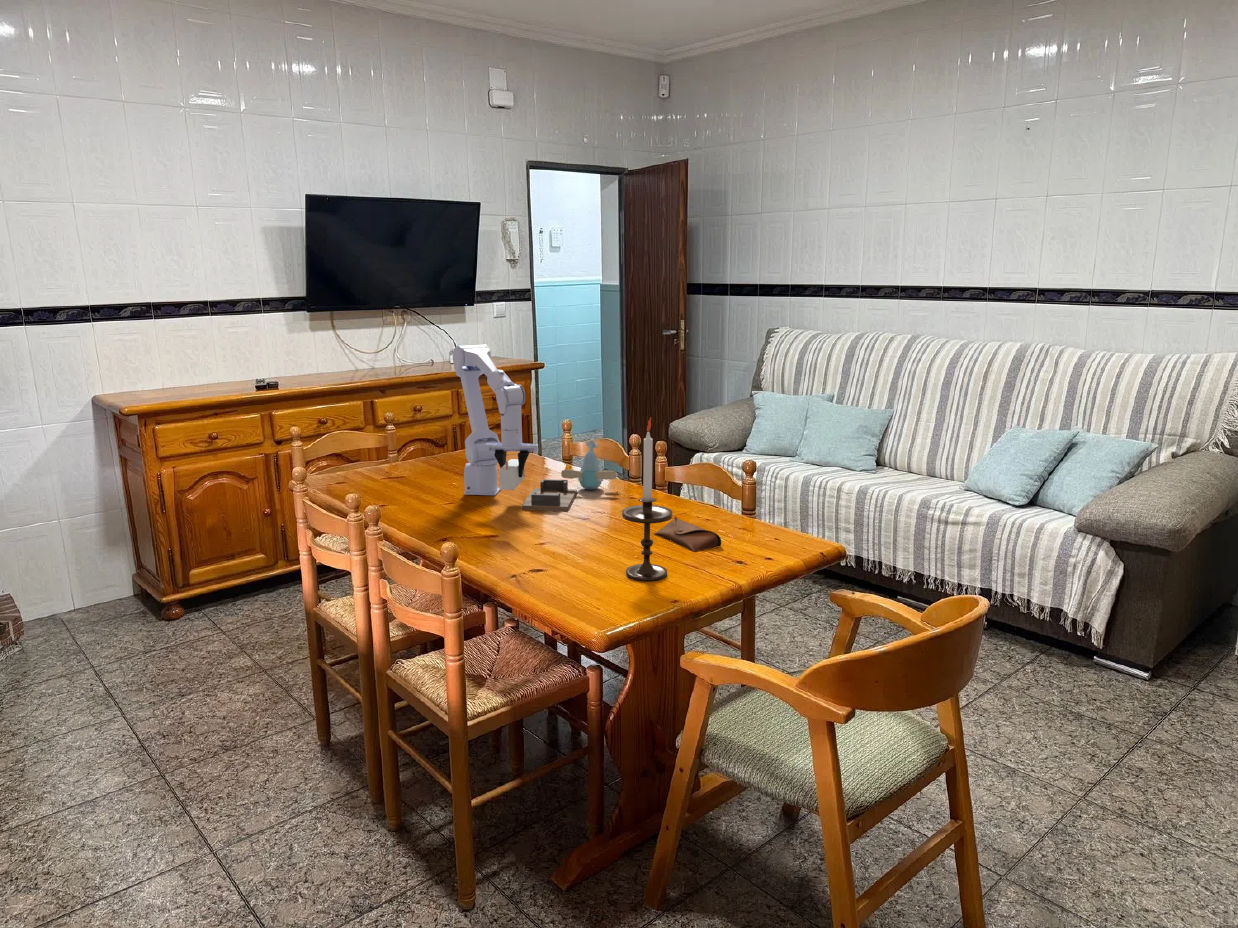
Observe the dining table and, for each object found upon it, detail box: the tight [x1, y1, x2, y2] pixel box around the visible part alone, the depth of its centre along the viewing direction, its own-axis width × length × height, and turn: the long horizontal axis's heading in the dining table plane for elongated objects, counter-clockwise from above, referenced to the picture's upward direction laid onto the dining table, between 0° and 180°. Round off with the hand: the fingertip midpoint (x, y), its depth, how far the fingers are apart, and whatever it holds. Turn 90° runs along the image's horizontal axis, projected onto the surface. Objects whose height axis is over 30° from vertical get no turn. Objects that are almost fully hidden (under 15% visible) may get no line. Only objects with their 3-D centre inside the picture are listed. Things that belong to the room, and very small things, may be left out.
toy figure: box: [560, 438, 619, 491], centre depth 260 cm, size 17×10×15 cm, turn 84°
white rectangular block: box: [498, 458, 526, 491], centre depth 241 cm, size 14×4×8 cm, turn 174°
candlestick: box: [621, 417, 673, 583], centre depth 185 cm, size 11×11×35 cm
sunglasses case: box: [652, 516, 722, 553], centre depth 213 cm, size 18×7×7 cm
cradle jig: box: [521, 478, 578, 512], centre depth 247 cm, size 19×13×4 cm
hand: (512, 476), depth 242 cm, fingers closed on white rectangular block, 4 cm apart
